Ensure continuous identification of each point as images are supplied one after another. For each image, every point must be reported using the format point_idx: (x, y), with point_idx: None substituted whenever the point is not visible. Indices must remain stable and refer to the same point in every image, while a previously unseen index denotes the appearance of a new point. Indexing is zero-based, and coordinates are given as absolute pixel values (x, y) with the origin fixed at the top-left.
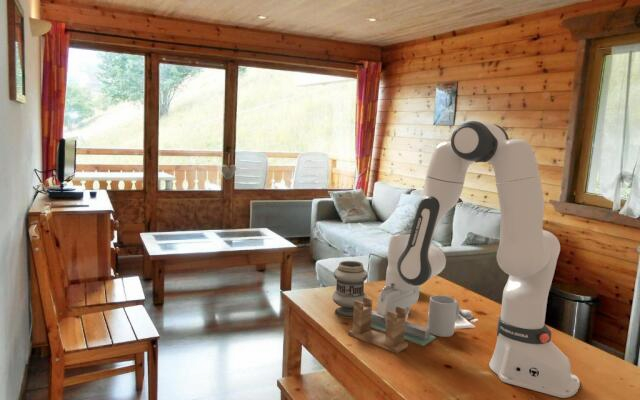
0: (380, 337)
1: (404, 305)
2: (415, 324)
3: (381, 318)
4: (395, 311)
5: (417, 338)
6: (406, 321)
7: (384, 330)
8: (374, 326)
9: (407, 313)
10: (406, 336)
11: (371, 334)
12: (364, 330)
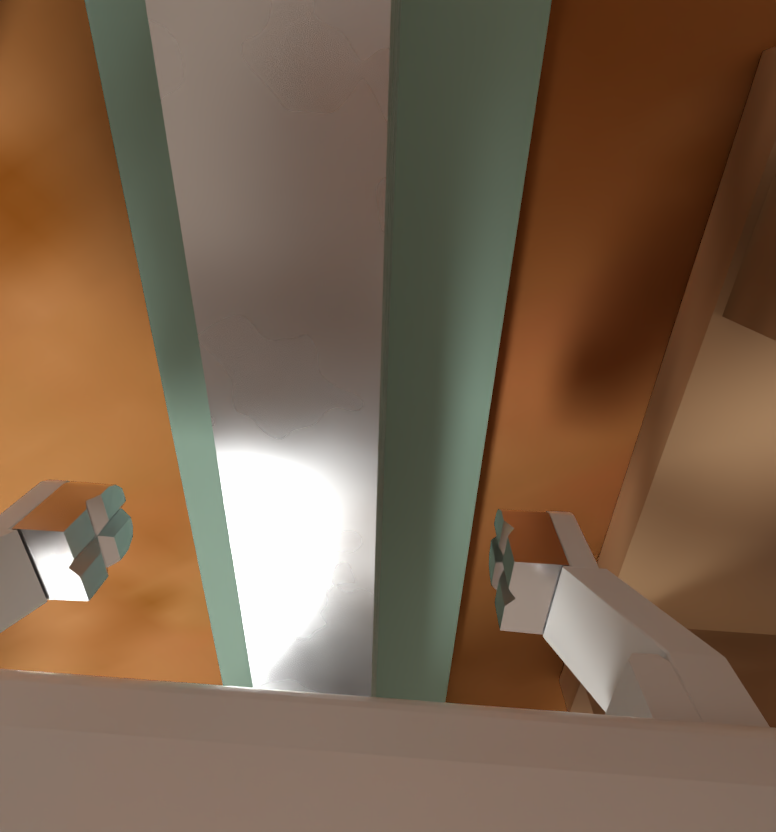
0: (771, 473)
1: (59, 791)
2: (194, 221)
3: (372, 678)
4: (636, 759)
5: (399, 59)
6: (217, 421)
7: (467, 532)
8: (440, 630)
9: (4, 534)
10: (451, 252)
11: (728, 574)
12: (745, 658)
